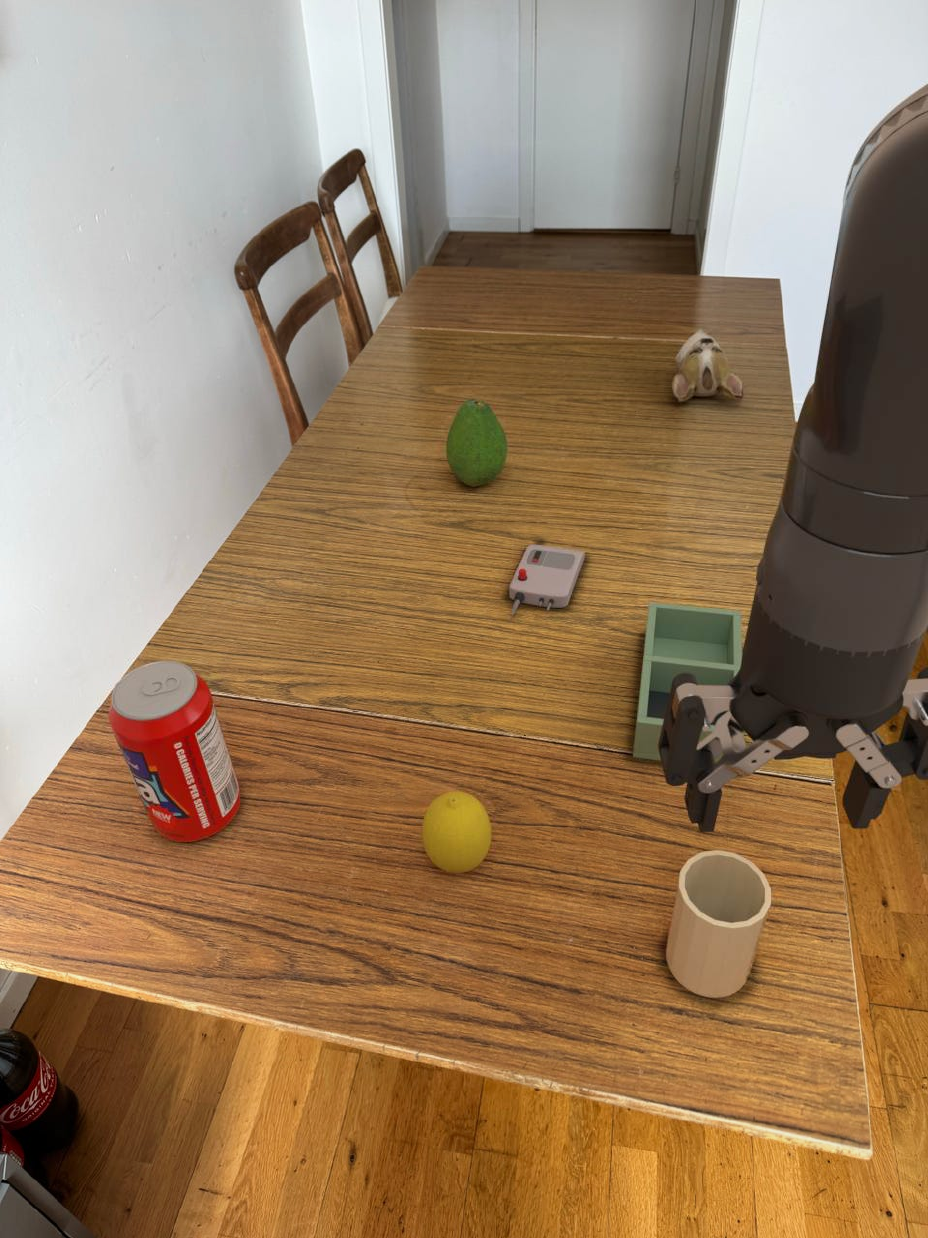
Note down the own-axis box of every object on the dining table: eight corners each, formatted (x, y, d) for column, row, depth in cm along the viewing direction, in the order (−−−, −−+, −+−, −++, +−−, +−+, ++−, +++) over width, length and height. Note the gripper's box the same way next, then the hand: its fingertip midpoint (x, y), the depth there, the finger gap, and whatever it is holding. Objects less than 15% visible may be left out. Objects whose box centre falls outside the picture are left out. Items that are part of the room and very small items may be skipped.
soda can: (250, 831, 76) (212, 706, 67) (157, 860, 74) (104, 736, 65) (235, 767, 82) (198, 644, 73) (148, 792, 80) (98, 669, 71)
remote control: (587, 549, 107) (589, 528, 105) (558, 630, 95) (559, 608, 94) (534, 541, 109) (534, 521, 107) (499, 620, 97) (498, 598, 95)
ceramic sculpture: (736, 317, 138) (753, 362, 127) (728, 369, 144) (744, 416, 133) (666, 319, 139) (678, 364, 128) (661, 370, 145) (671, 418, 134)
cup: (762, 950, 66) (785, 878, 60) (728, 1014, 62) (748, 944, 57) (688, 908, 69) (702, 836, 63) (651, 967, 65) (663, 896, 60)
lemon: (451, 825, 76) (446, 762, 71) (505, 855, 73) (504, 792, 68) (411, 871, 73) (403, 808, 68) (467, 904, 70) (462, 841, 65)
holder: (736, 771, 79) (744, 735, 76) (632, 757, 81) (636, 721, 78) (734, 645, 92) (741, 610, 89) (645, 635, 94) (649, 601, 91)
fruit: (492, 462, 124) (490, 381, 117) (517, 488, 119) (517, 405, 111) (439, 475, 122) (433, 394, 114) (462, 503, 116) (458, 418, 109)
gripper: (702, 652, 38) (664, 877, 48) (1043, 641, 37) (931, 871, 48) (670, 551, 44) (642, 771, 54) (965, 541, 43) (880, 765, 54)
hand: (778, 818), depth 51 cm, fingers open, 8 cm apart
